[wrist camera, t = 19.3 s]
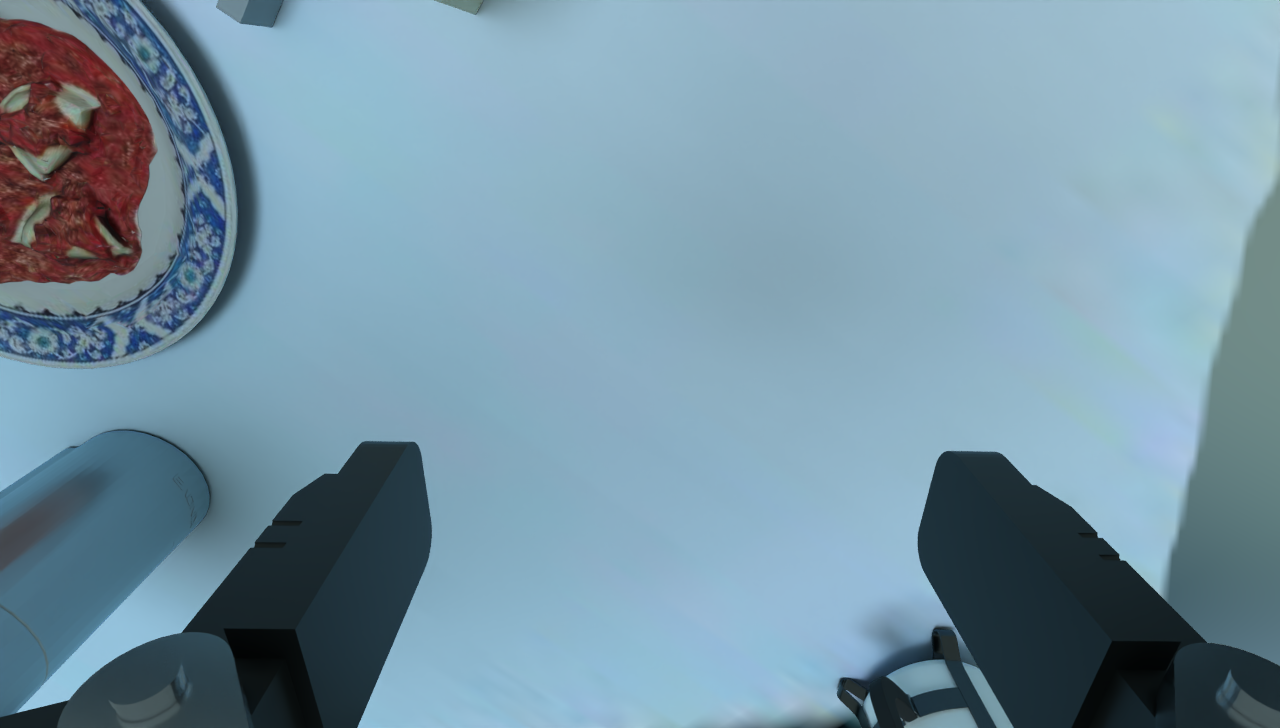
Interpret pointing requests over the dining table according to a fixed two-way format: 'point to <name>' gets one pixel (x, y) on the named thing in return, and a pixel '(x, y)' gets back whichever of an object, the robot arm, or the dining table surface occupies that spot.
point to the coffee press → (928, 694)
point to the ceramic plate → (105, 186)
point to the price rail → (251, 11)
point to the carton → (464, 4)
